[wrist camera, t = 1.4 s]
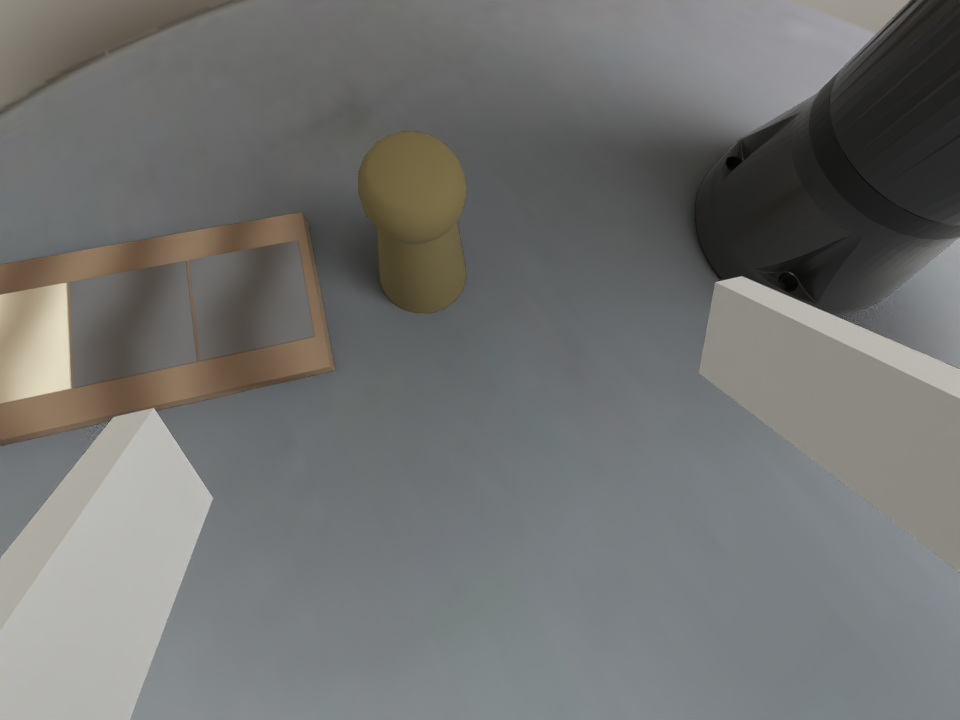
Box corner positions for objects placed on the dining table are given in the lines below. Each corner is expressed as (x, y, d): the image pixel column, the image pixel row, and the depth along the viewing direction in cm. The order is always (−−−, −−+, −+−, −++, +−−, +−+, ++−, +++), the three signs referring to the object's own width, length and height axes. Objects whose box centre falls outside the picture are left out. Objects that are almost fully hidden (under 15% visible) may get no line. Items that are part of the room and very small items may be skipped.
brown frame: (307, 221, 30) (301, 210, 29) (335, 370, 28) (329, 365, 26) (-46, 284, 27) (-70, 275, 26) (-50, 457, 25) (-76, 456, 24)
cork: (386, 320, 29) (351, 234, 18) (372, 240, 30) (332, 115, 19) (474, 305, 29) (490, 213, 19) (457, 228, 31) (463, 101, 20)
